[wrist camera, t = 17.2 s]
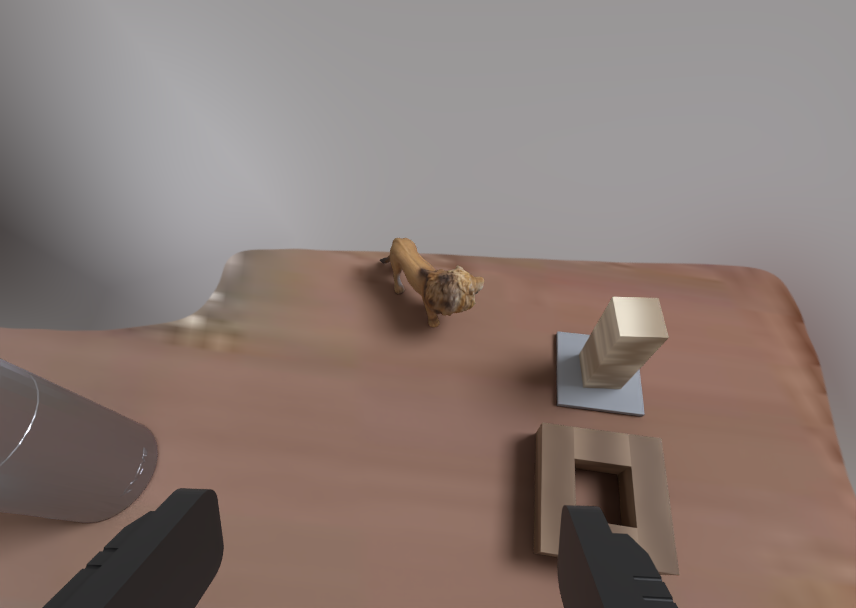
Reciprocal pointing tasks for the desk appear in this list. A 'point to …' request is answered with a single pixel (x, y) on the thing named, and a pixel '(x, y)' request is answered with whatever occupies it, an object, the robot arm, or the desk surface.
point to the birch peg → (622, 342)
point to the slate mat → (591, 398)
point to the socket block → (636, 479)
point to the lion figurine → (433, 281)
